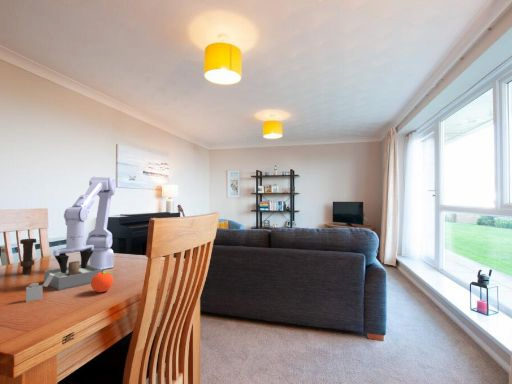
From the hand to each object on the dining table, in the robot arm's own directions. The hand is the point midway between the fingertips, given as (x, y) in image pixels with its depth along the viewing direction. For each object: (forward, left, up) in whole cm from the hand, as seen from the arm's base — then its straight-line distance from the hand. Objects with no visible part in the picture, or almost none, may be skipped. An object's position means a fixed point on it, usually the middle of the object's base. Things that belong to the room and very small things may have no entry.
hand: (73, 270), depth 105 cm
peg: (0, 0, -4) cm, 4 cm away
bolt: (+8, -28, -5) cm, 29 cm away
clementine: (-2, +21, -5) cm, 22 cm away
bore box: (0, 0, -4) cm, 4 cm away
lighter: (+14, +12, -5) cm, 19 cm away
